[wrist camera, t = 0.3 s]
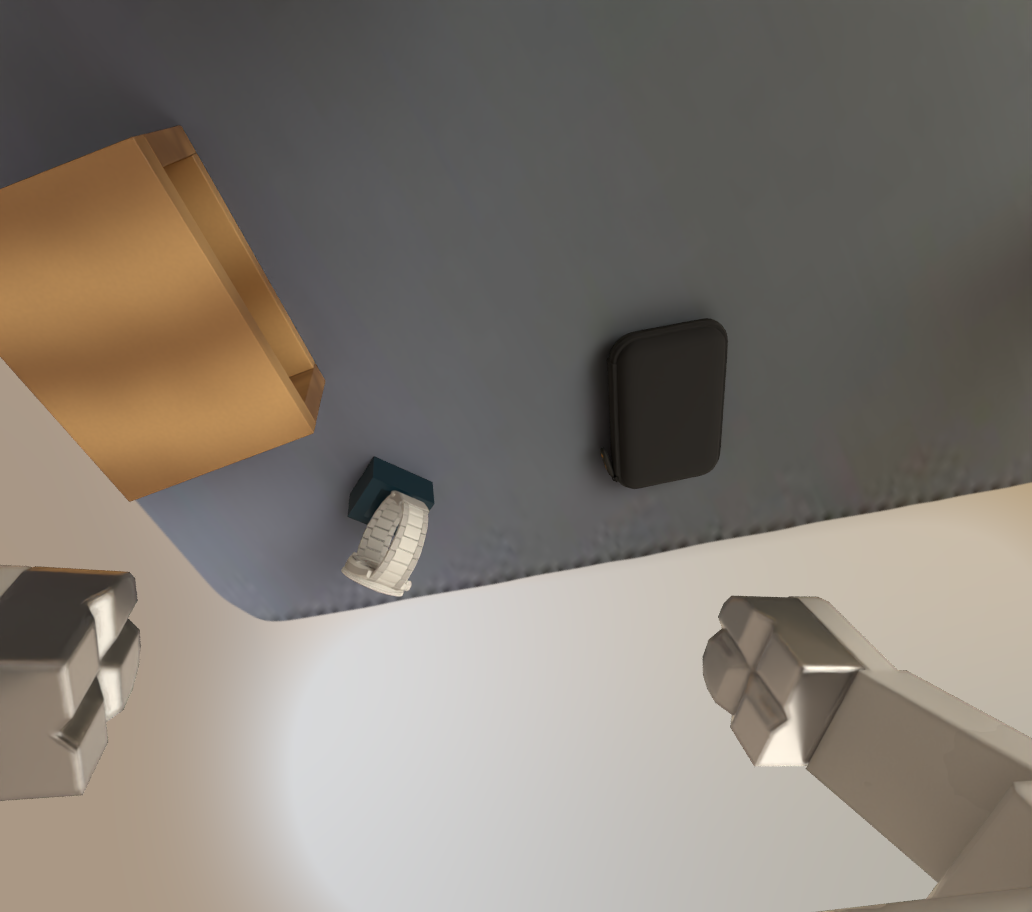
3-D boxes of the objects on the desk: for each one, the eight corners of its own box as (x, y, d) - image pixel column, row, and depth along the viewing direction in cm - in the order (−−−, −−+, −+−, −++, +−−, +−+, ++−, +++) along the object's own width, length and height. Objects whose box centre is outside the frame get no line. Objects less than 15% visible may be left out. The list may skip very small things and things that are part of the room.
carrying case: (589, 332, 48) (598, 484, 56) (599, 347, 45) (608, 503, 53) (719, 308, 48) (710, 461, 56) (737, 321, 46) (725, 479, 54)
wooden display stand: (-19, 203, 37) (-111, 232, 30) (180, 124, 36) (132, 136, 29) (167, 440, 46) (129, 502, 40) (325, 381, 46) (313, 433, 39)
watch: (339, 510, 52) (327, 604, 43) (384, 440, 50) (381, 524, 40) (397, 533, 55) (398, 626, 46) (443, 467, 52) (454, 552, 43)
